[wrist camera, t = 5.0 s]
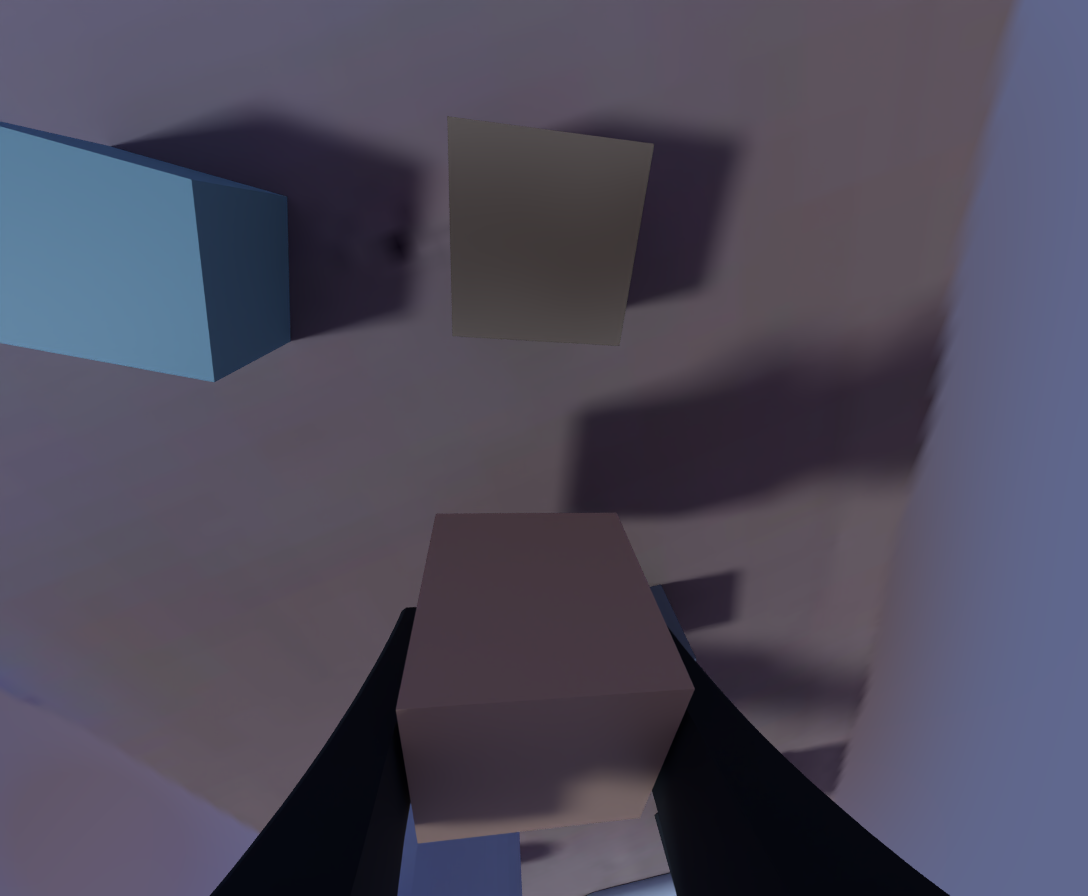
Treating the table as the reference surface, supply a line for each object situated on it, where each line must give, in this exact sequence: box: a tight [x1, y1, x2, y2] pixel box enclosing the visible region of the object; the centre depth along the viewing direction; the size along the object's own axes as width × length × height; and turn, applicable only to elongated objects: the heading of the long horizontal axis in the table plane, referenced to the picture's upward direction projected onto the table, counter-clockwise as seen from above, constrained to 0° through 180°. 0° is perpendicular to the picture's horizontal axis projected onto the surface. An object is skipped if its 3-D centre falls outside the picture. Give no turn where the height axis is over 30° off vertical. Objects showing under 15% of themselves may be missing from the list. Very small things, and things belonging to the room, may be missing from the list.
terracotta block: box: [396, 513, 695, 844], centre depth 10 cm, size 5×5×5 cm
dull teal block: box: [0, 122, 291, 382], centre depth 10 cm, size 4×4×4 cm
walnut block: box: [447, 116, 654, 346], centre depth 10 cm, size 4×4×4 cm
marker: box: [587, 873, 677, 896], centre depth 40 cm, size 18×2×2 cm, turn 104°
